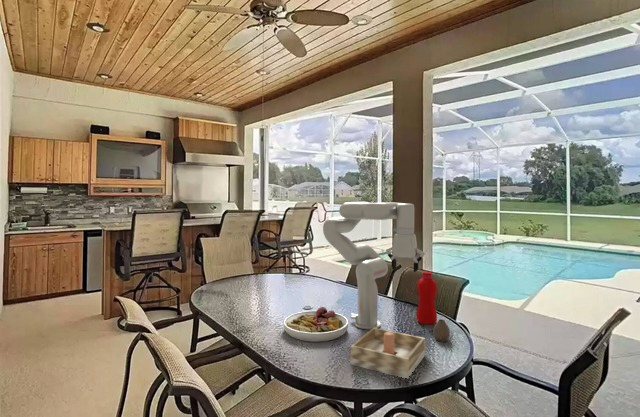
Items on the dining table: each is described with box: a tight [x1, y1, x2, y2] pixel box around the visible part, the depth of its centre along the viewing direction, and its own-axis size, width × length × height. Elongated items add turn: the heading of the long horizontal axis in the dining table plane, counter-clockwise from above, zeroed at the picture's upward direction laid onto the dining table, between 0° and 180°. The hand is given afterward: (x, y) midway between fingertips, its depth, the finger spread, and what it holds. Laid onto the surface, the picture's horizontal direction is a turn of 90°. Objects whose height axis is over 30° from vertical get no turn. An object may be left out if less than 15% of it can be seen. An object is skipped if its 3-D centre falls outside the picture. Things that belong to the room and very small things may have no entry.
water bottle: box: [416, 271, 438, 325], centre depth 187 cm, size 9×11×25 cm
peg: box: [384, 332, 394, 355], centre depth 145 cm, size 4×4×10 cm
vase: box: [432, 318, 451, 343], centre depth 164 cm, size 7×7×9 cm
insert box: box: [350, 328, 426, 380], centre depth 145 cm, size 22×22×7 cm
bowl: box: [283, 306, 349, 343], centre depth 175 cm, size 30×30×8 cm
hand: (404, 270), depth 166 cm, fingers open, 9 cm apart
